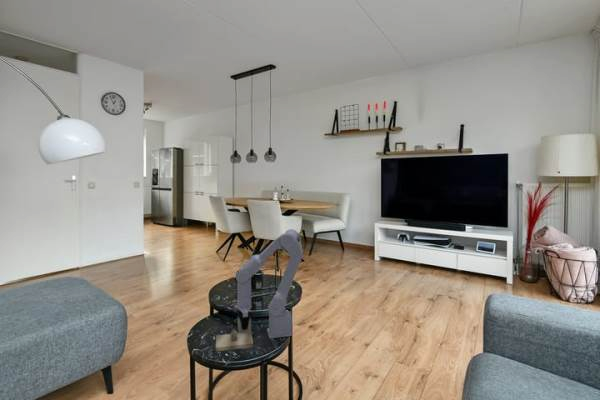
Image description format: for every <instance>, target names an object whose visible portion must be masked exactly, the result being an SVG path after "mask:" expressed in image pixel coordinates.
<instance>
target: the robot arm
mask: <svg viewBox="0 0 600 400" xmlns="http://www.w3.org/2000/svg"><path fill="white" fill-rule="evenodd" d="M283 249H284V250H286V252H287V253H288V255H289V260H288V261H287V265H286V268H285V269H284V272H283V275H282V277H281V280H280V282H279V285H278V288H277V290H276V293H275V294H274V295H273V297H272V299H271V301H270V302H269V303H268V306H267V311H268V327H267V328H266V331H267V335H268V338H269V339H277V338H287V337H291V336H293V334H292V333H293V332H292V331H293V330H292V329H293V327H292V326H293V321H292V320H293V317H292V312H291V311H290V310H287V309H286V305H287V302H288V294H289V292H290V289H291V286H292V283H293V281H294V279H295V276H296V274H297V271H298V268H299V267H300V263H301V261H302V259H303V257H304V251H303V246H302V237H301V236H300V235H299V233H298V232H297V231H296V230H295V229H290V228H289V229H288V230H286V231H285V232H284V233H282V234H281V235H279V236H278V237H276V238H275V239H274V240H272V242H270V244H269V245H268V246H267V247H266V248H265V249H264V250H263V251H262V252H261V253H259V254H254V255H251V256H250V257H249V260H248V261H247V262H246V263H243V264H242V267H240V268H239V269H238V270H237V271H236V273H235V279H236V281H237V285H236V286H237V288H236V289H237V296H236V297H237V304H234V308H235V309H237V310H238V313H237V318H238V317H239V319H240V321H241V327H242V330H246V329H247V328H248V324H249V320H250V318H251V319H252V312H249V311H250V310H251V308H252V277H253V276H254V275H255V274H256V273H257V272H258V271H259V270H260V269H262V267H263V266H265V261H266V260H267V259H268V258H269V257H270V256H271V255H273V254H274V252H275V251H277V250H283Z"/></svg>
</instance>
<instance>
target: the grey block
mask: <svg viewBox="0 0 600 400" xmlns="http://www.w3.org/2000/svg"><path fill="white" fill-rule="evenodd" d="M245 332H251V333H252V317H251V318H250V320H249V324H248V328H247V329H246V330H242V327H241V321H240V319H239V317H238V316H237V333H245Z"/></svg>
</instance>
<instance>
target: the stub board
mask: <svg viewBox="0 0 600 400" xmlns="http://www.w3.org/2000/svg"><path fill="white" fill-rule="evenodd" d="M247 348H249V349H250V348H254V341H253V335H252V331H251V332H245V333H238V330H231V332H230V333H228V334H218V335H217V334H216V336H215V352H222V351H230V350H239V349H247Z"/></svg>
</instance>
